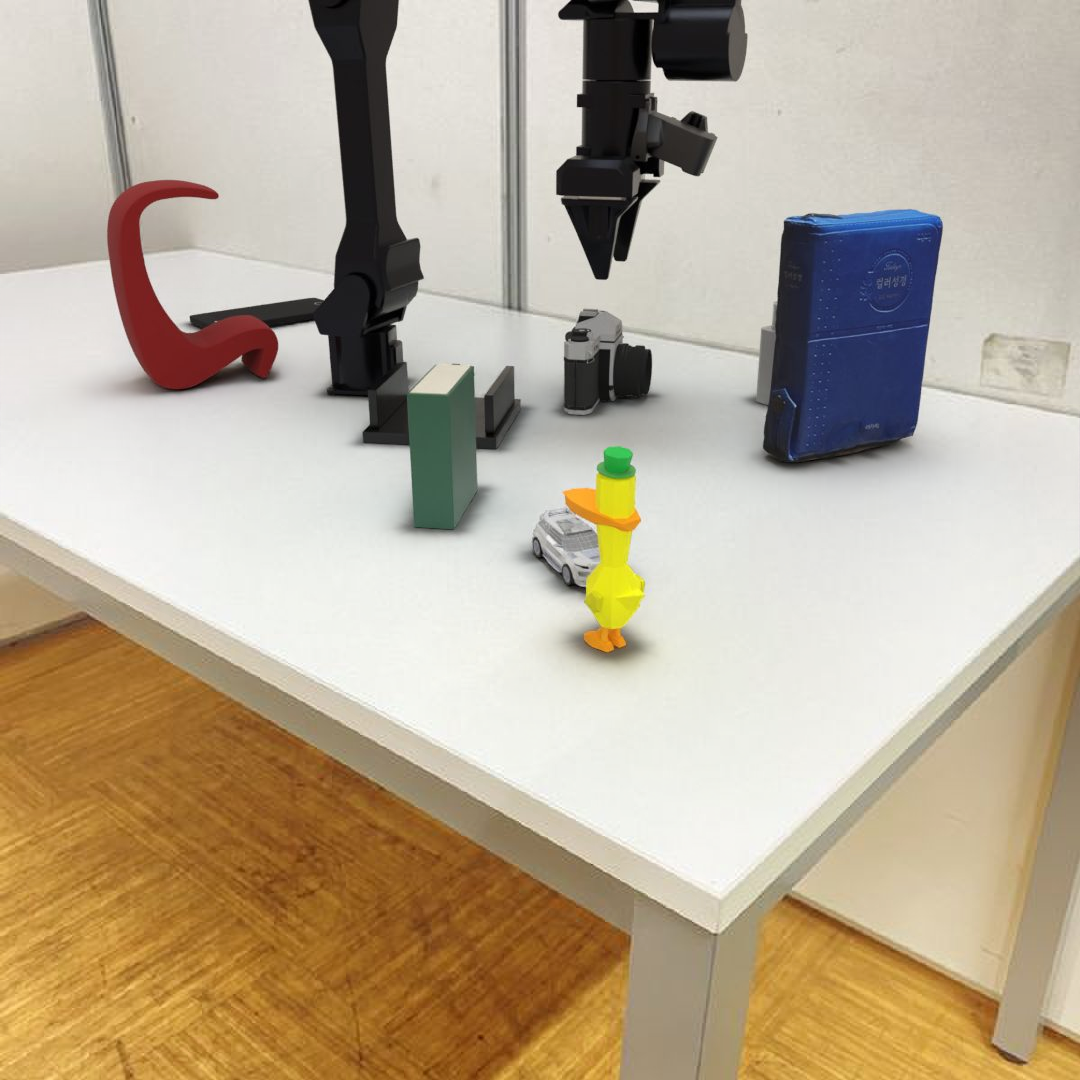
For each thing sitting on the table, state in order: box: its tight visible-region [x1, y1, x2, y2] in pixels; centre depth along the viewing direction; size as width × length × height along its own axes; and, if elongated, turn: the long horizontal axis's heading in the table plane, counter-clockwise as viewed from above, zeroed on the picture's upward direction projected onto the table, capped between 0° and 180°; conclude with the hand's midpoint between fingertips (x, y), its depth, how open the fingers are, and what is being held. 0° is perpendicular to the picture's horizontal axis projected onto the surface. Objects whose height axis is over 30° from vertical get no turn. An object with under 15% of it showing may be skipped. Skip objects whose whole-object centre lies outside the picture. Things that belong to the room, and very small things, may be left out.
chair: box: [106, 179, 279, 390], centre depth 115 cm, size 15×7×20 cm, turn 118°
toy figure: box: [561, 445, 646, 653], centre depth 64 cm, size 7×4×12 cm, turn 38°
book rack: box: [362, 361, 522, 450], centre depth 103 cm, size 12×12×4 cm
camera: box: [563, 308, 653, 416], centre depth 110 cm, size 13×8×9 cm, turn 169°
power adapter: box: [755, 300, 777, 406], centre depth 109 cm, size 3×5×12 cm, turn 128°
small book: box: [407, 363, 478, 530], centre depth 83 cm, size 3×8×10 cm, turn 171°
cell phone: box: [189, 297, 325, 329], centre depth 145 cm, size 9×18×1 cm, turn 129°
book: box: [762, 208, 944, 463], centre depth 93 cm, size 14×5×20 cm, turn 117°
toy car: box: [531, 506, 600, 588], centre depth 75 cm, size 4×8×3 cm, turn 24°
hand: (611, 269), depth 100 cm, fingers open, 9 cm apart
